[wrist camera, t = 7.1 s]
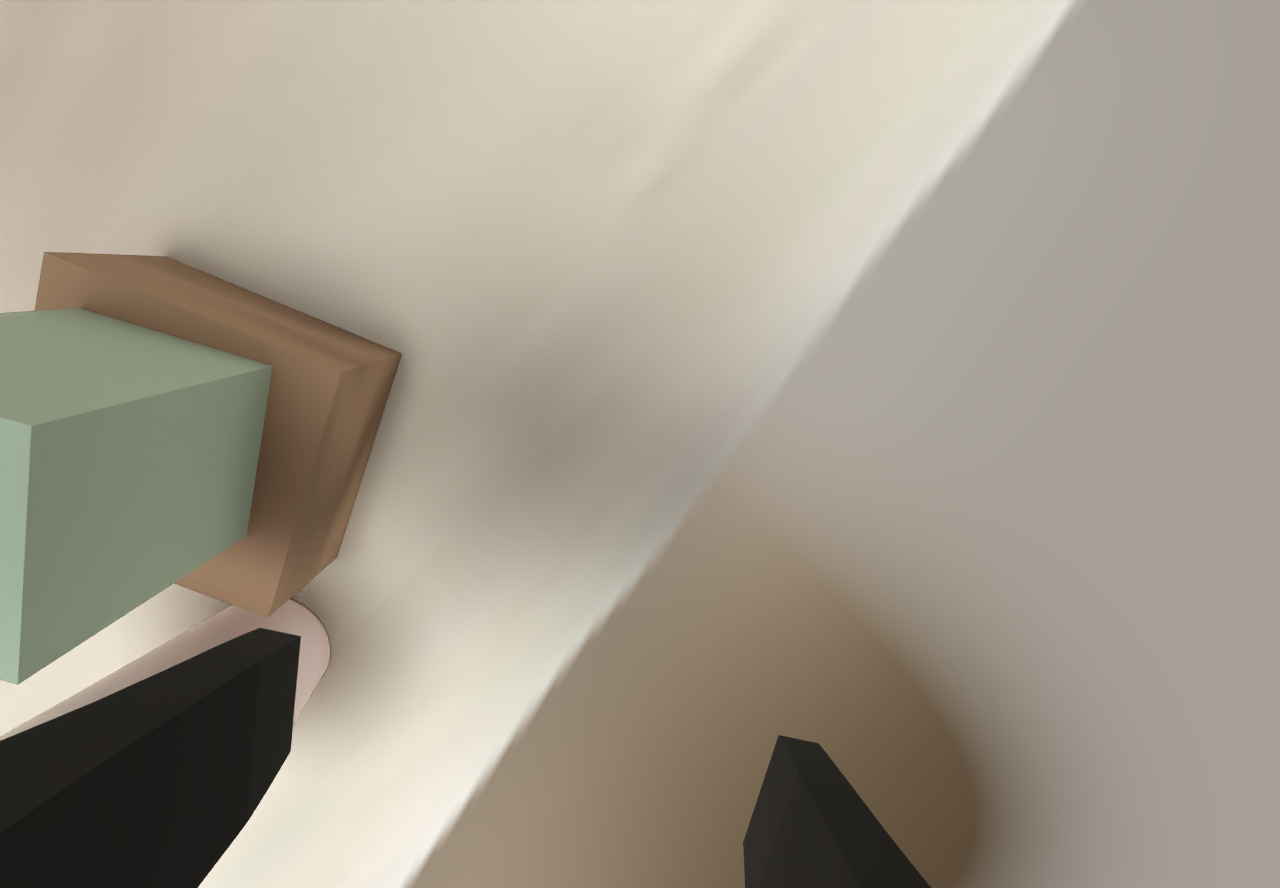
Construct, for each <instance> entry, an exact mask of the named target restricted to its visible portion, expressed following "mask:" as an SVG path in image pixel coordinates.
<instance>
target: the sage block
mask: <svg viewBox="0 0 1280 888" xmlns="http://www.w3.org/2000/svg"><path fill="white" fill-rule="evenodd" d="M272 367H273V366H271V365H268V364H265V363H261V362H258V361H255V360H251V359H248V358H245V357H241V356H238V355H234V354H231V353H228V352H224V351H221V350H218V349H214V348H211V347H208V346H204V345H201V344H198V343H194V342H191V341H188V340H184V339H181V338H178V337H174V336H171V335H168V334H164V333H161V332H158V331H154V330H151V329H148V328H144V327H141V326H138V325H134V324H131V323H128V322H124V321H121V320H118V319H114V318H111V317H108V316H104V315H101V314H98V313H94V312H91V311H88V310H84V309H81V308H73V309H57V310H42V311H26V312H11V313H0V680H2V681H6V682H10V683H14V684H17V685H18V684H19V683H21V682H22V681H24V680H26V679H27V678H29V677H30V676H32V675H33V674H35V673H36V672H38V671H39V670H41V669H42V668H44V667H46V666H47V665H49V664H50V663H52V662H53V661H55V660H56V659H58V658H59V657H61V656H62V655H64V654H66V653H67V652H69V651H70V650H72V649H73V648H75V647H76V646H78V645H79V644H81V643H82V642H84V641H86V640H87V639H89V638H90V637H92V636H93V635H95V634H96V633H98V632H99V631H101V630H102V629H104V628H106V627H107V626H109V625H110V624H112V623H113V622H115V621H116V620H118V619H119V618H121V617H122V616H124V615H126V614H127V613H129V612H130V611H132V610H133V609H135V608H136V607H138V606H139V605H141V604H142V603H144V602H146V601H147V600H149V599H150V598H152V597H153V596H155V595H156V594H158V593H159V592H161V591H162V590H164V589H166V588H167V587H169V586H170V585H172V584H173V583H175V582H176V581H178V580H179V579H181V578H182V577H184V576H186V575H187V574H189V573H190V572H192V571H193V570H195V569H196V568H198V567H199V566H201V565H203V564H204V563H206V562H207V561H209V560H210V559H212V558H213V557H215V556H216V555H218V554H219V553H221V552H223V551H224V550H226V549H227V548H229V547H230V546H232V545H233V544H235V543H236V542H238V541H239V540H241V539H243V538H244V537H246V535H247V529H248V523H249V516H250V510H251V503H252V497H253V491H254V484H255V478H256V471H257V465H258V458H259V452H260V445H261V439H262V432H263V426H264V419H265V413H266V406H267V400H268V393H269V387H270V380H271V374H272Z"/></svg>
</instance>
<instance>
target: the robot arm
mask: <svg viewBox="0 0 1280 888" xmlns="http://www.w3.org/2000/svg"><path fill="white" fill-rule="evenodd" d="M300 642H301V636H298V635H293V634H288V633H283V632H279V631H274V630H269V629H264V628H258V629H255V630H253V631H250V632H248V633H245V634H243V635H240V636H238V637H236V638H234V639H231V640H229V641H227V642H225V643H222V644H220V645H218V646H216V647H214V648H211V649H209V650H207V651H205V652H203V653H201V654H198V655H196V656H194V657H192V658H190V659H188V660H185V661H183V662H181V663H179V664H177V665H175V666H172V667H170V668H168V669H166V670H164V671H161V672H159V673H157V674H155V675H153V676H150V677H148V678H146V679H144V680H142V681H139V682H137V683H135V684H133V685H130V686H128V687H126V688H124V689H122V690H119V691H117V692H115V693H113V694H111V695H108V696H106V697H104V698H102V699H99V700H97V701H95V702H93V703H90V704H88V705H85V706H83V707H81V708H78V709H76V710H73V711H71V712H69V713H66V714H64V715H61V716H59V717H56V718H54V719H52V720H49V721H47V722H44V723H42V724H40V725H37V726H35V727H32V728H30V729H28V730H25V731H23V732H20V733H18V734H16V735H13V736H11V737H8V738H6V739H3V740H1V741H0V888H198V886H199V885H200V884H201V882H202V881H203V880H204V879H205V877H206V876H207V875H208V873H209V872H210V871H211V869H212V868H213V867H214V865H215V864H216V863H217V861H218V860H219V859H220V858H221V856H222V855H223V854H224V852H225V851H226V850H227V848H228V847H229V846H230V844H231V843H232V842H233V840H234V839H235V838H236V836H237V835H238V834H239V832H240V831H241V830H242V828H243V827H244V826H245V824H246V823H247V822H248V820H249V819H250V817H251V816H252V814H253V812H254V811H255V809H256V808H257V806H258V804H259V803H260V801H261V800H262V798H263V796H264V795H265V793H266V792H267V790H268V788H269V787H270V785H271V783H272V782H273V780H274V778H275V777H276V775H277V773H278V771H279V770H280V768H281V766H282V765H283V763H284V761H285V760H286V758H287V756H288V755H289V753H290V751H291V740H292V729H293V718H294V707H295V696H296V685H297V675H298V664H299V653H300ZM743 846H744V867H745V888H931V887H930V886H929V885H928V883H927V882H926V881H925V880H924V879H923V877H922V876H921V875H920V874H919V872H918V871H917V870H916V869H915V867H914V866H913V865H912V864H911V862H910V861H909V860H908V859H907V857H906V856H905V855H904V854H903V852H902V851H901V850H900V848H899V847H898V846H897V845H896V843H895V842H894V841H893V840H892V838H891V837H890V836H889V835H888V833H887V832H886V831H885V829H884V828H883V827H882V826H881V824H880V823H879V821H878V820H877V819H876V818H875V816H874V815H873V814H872V812H871V811H870V810H869V808H868V807H867V806H866V804H865V803H864V802H863V800H862V799H861V798H860V797H859V795H858V794H857V793H856V791H855V790H854V789H853V787H852V786H851V785H850V783H849V782H848V781H847V780H846V778H845V777H844V775H843V774H842V773H841V772H840V771H839V769H838V768H837V767H836V765H835V764H834V762H833V761H832V760H831V759H830V757H829V756H828V755H827V753H826V752H825V751H824V750H823V749H822V747H821V746H820V745H819V744H818V743H814V742H809V741H804V740H799V739H794V738H789V737H785V736H780V735H779V736H778V739H777V742H776V745H775V748H774V751H773V754H772V758H771V760H770V763H769V766H768V770H767V772H766V775H765V778H764V781H763V784H762V787H761V790H760V794H759V797H758V800H757V803H756V806H755V809H754V812H753V815H752V818H751V821H750V824H749V827H748V830H747V833H746V836H745V839H744V842H743Z"/></svg>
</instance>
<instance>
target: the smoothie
mask: <svg viewBox="0 0 1280 888" xmlns="http://www.w3.org/2000/svg"><path fill="white" fill-rule="evenodd" d="M258 628H264V629H269V630H274V631H279V632H283V633H288V634H293V635H298V636H301V642H300V653H299V664H298V675H297V685H296V696H295V707H294V718H293V725H294V723H295V721H296V720H297V718H298V716H299V715H300V713H301V711H302V709H303V708H304V706H305V704H306V703H307V701H308V699H309V698H310V696H311V694H312V693H313V691H314V689H315V688H316V686H317V684H318V683H319V681H320V679H321V678H322V676H323V674H324V672H325V671H326V669H327V666H328V663H329V660H330V644H329V640H328V636H327V634H326V631H325V629H324V628H323V626H322V624H321V623H320V621H319V620H318V619H317V618H316V617H315V616H314V615H313V614H312V613H311V612H310V611H309V610H308V609H307V608H305V607H304V606H302V605H301V604H299V603H297V602H295V601H293V600H291V599H289V600H288V601H287V602H286V603H284V604H283V605H282V606H281V607H280V608H279V609H278V610H277V611H275V612H274V613H273V614H272V615H271V616H270V617H269V618H267V617H264V616H261V615H258V614H256V613H253V612H250V611H248V610H245V609H242V608H240V607H237V606H234V605H231V606H230V607H228V608H226V609H224V610H223V611H221V612H219V613H217V614H216V615H214V616H212V617H210V618H209V619H207V620H205V621H203V622H202V623H200V624H198V625H196V626H195V627H193V628H191V629H189V630H188V631H186V632H184V633H182V634H181V635H179V636H177V637H175V638H173V639H172V640H170V641H168V642H166V643H165V644H163V645H161V646H159V647H158V648H156V649H154V650H152V651H151V652H149V653H147V654H145V655H144V656H142V657H140V658H138V659H137V660H135V661H133V662H131V663H130V664H128V665H126V666H124V667H123V668H121V669H119V670H117V671H115V672H114V673H112V674H110V675H108V676H107V677H105V678H103V679H101V680H100V681H98V682H96V683H94V684H93V685H91V686H89V687H87V688H86V689H84V690H82V691H80V692H79V693H77V694H75V695H73V696H72V697H70V698H68V699H66V700H65V701H63V702H61V703H59V704H58V705H56V706H54V707H52V708H50V709H49V710H47V711H45V712H43V713H42V714H40V715H38V716H36V717H35V718H33V719H31V720H29V721H27V722H25V723H23V724H21V725H19V726H18V727H16V728H14V729H13V730H11V731H9V732H8V733H6V734H4V735H2V736H1V737H0V741H1V740H3V739H6V738H8V737H11V736H13V735H16V734H18V733H20V732H23V731H25V730H28V729H30V728H32V727H35V726H37V725H40V724H42V723H44V722H47V721H49V720H52V719H54V718H56V717H59V716H61V715H64V714H66V713H69V712H71V711H73V710H76V709H78V708H81V707H83V706H85V705H88V704H90V703H93V702H95V701H97V700H99V699H102V698H104V697H106V696H108V695H111V694H113V693H115V692H117V691H119V690H122V689H124V688H126V687H128V686H130V685H133V684H135V683H137V682H139V681H142V680H144V679H146V678H148V677H150V676H153V675H155V674H157V673H159V672H161V671H164V670H166V669H168V668H170V667H172V666H175V665H177V664H179V663H181V662H183V661H185V660H188V659H190V658H192V657H194V656H196V655H198V654H201V653H203V652H205V651H207V650H209V649H211V648H214V647H216V646H218V645H220V644H222V643H225V642H227V641H229V640H231V639H234V638H236V637H238V636H240V635H243V634H245V633H248V632H250V631H253V630H255V629H258Z"/></svg>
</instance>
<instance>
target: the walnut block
mask: <svg viewBox="0 0 1280 888" xmlns="http://www.w3.org/2000/svg"><path fill="white" fill-rule="evenodd" d="M73 308H81V309H84V310H88V311H91V312H94V313H98V314H101V315H104V316H108V317H111V318H114V319H118V320H121V321H124V322H128V323H131V324H134V325H138V326H141V327H144V328H148V329H151V330H154V331H158V332H161V333H164V334H168V335H171V336H174V337H178V338H181V339H184V340H188V341H191V342H194V343H198V344H201V345H204V346H208V347H211V348H214V349H218V350H221V351H224V352H228V353H231V354H234V355H238V356H241V357H245V358H248V359H251V360H255V361H258V362H261V363H265V364H268V365H271V366H273V367H272V374H271V380H270V387H269V393H268V400H267V406H266V413H265V419H264V426H263V432H262V439H261V445H260V452H259V458H258V465H257V471H256V478H255V484H254V491H253V497H252V503H251V510H250V516H249V523H248V529H247V535H246V537H244V538H243V539H241V540H239V541H238V542H236V543H235V544H233V545H232V546H230V547H229V548H227V549H226V550H224V551H223V552H221V553H219V554H218V555H216V556H215V557H213V558H212V559H210V560H209V561H207V562H206V563H204V564H203V565H201V566H199V567H198V568H196V569H195V570H193V571H192V572H190V573H189V574H187V575H186V576H184V577H182V578H181V579H179V580H178V581H176V582H175V584H178V585H180V586H183V587H186V588H189V589H191V590H194V591H197V592H199V593H202V594H205V595H207V596H210V597H213V598H215V599H218V600H221V601H223V602H226V603H229V604H232V605H234V606H237V607H240V608H242V609H245V610H248V611H250V612H253V613H256V614H258V615H261V616H264V617H267V618H269V617H270V616H271V615H272V614H273V613H274V612H275V611H277V610H278V609H279V608H280V607H281V606H282V605H283V604H284V603H286V602H287V601H288V600H289V599H290V598H291V597H292V596H294V595H295V594H296V593H297V592H298V591H299V590H300V589H301V588H303V587H304V586H305V585H306V584H307V583H308V582H309V581H311V580H312V579H313V578H314V577H315V576H316V575H317V574H318V573H320V572H321V571H322V570H323V569H324V568H325V567H326V566H327V565H329V564H330V563H331V562H332V561H333V560H334V559H335V558H337V555H338V552H339V549H340V546H341V543H342V540H343V536H344V533H345V530H346V527H347V524H348V521H349V518H350V514H351V511H352V508H353V505H354V502H355V499H356V496H357V493H358V489H359V486H360V483H361V480H362V477H363V474H364V471H365V468H366V464H367V461H368V458H369V455H370V452H371V449H372V446H373V442H374V439H375V436H376V433H377V430H378V427H379V424H380V421H381V417H382V414H383V411H384V408H385V405H386V402H387V399H388V396H389V392H390V389H391V386H392V383H393V380H394V377H395V374H396V371H397V367H398V364H399V361H400V358H401V355H402V354H401V353H399V352H396V351H394V350H392V349H389V348H387V347H384V346H382V345H379V344H377V343H375V342H372V341H370V340H367V339H365V338H362V337H360V336H358V335H355V334H353V333H350V332H348V331H345V330H343V329H341V328H338V327H336V326H333V325H331V324H328V323H326V322H324V321H321V320H319V319H316V318H314V317H311V316H309V315H307V314H304V313H302V312H299V311H297V310H294V309H292V308H290V307H287V306H285V305H282V304H280V303H277V302H275V301H273V300H270V299H268V298H265V297H263V296H260V295H258V294H256V293H253V292H251V291H248V290H246V289H243V288H241V287H239V286H236V285H234V284H231V283H229V282H226V281H224V280H222V279H219V278H217V277H214V276H212V275H209V274H207V273H205V272H202V271H200V270H197V269H195V268H192V267H190V266H188V265H185V264H183V263H180V262H178V261H175V260H173V259H171V258H168V257H166V256H139V255H112V254H85V253H58V252H44V257H43V263H42V269H41V275H40V281H39V287H38V293H37V299H36V305H35V311H42V310H57V309H73Z"/></svg>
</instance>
